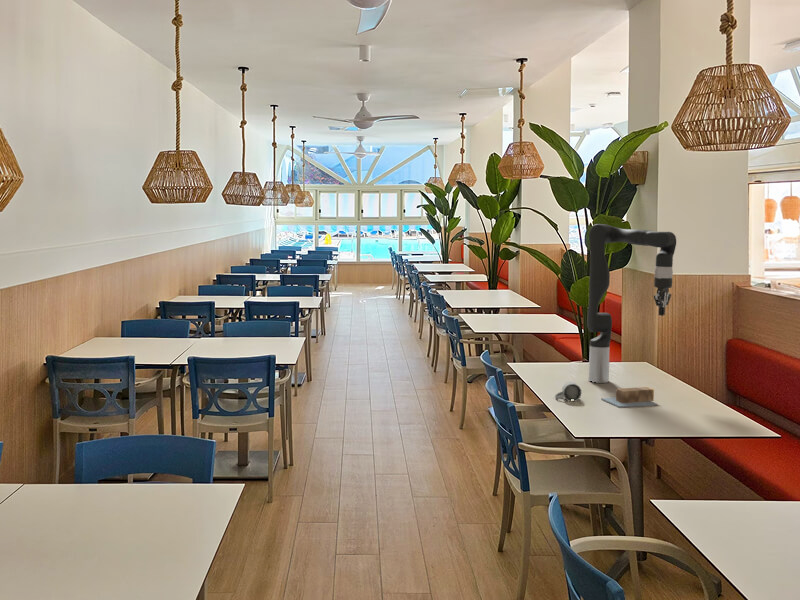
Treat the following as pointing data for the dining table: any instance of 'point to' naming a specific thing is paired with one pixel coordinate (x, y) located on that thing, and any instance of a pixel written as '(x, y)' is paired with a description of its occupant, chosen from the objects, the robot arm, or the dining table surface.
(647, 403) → the slate mat
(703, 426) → the dining table surface
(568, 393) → the ceramic mug
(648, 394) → the walnut block
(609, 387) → the dining table surface
